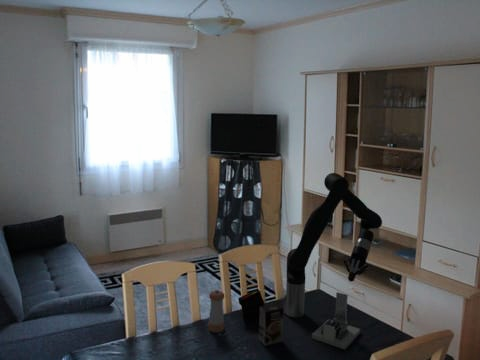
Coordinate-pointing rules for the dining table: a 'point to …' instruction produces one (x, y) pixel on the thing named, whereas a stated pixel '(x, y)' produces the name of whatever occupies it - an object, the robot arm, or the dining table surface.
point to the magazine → (251, 305)
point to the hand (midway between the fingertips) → (350, 280)
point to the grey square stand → (330, 334)
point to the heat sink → (337, 329)
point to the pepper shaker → (216, 311)
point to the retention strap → (341, 306)
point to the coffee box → (271, 324)
